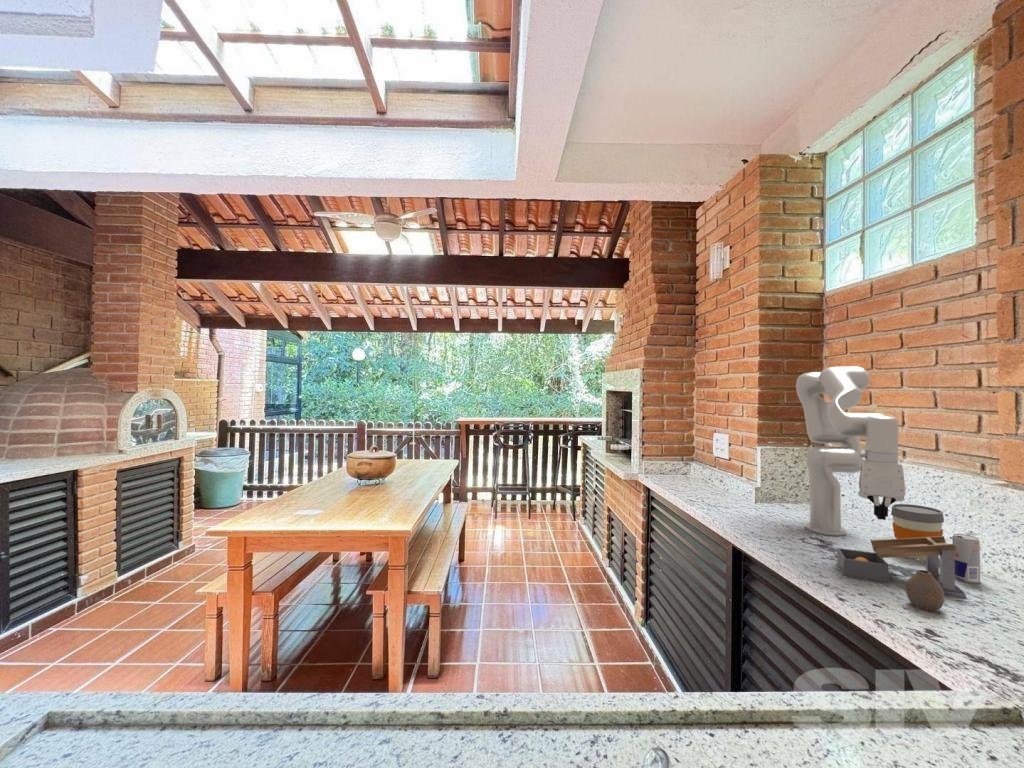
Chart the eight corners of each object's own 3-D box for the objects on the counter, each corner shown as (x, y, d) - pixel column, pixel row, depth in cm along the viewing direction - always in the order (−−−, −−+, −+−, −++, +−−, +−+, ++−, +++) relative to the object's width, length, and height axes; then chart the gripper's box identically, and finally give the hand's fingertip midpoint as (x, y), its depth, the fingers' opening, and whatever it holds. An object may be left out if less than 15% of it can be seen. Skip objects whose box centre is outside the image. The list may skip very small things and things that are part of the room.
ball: (854, 569, 132) (850, 555, 132) (870, 568, 130) (867, 554, 130) (857, 574, 128) (853, 560, 129) (874, 574, 126) (870, 559, 127)
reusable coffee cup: (926, 565, 135) (925, 515, 135) (881, 551, 147) (881, 505, 147) (955, 561, 138) (954, 512, 138) (909, 547, 150) (908, 502, 151)
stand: (916, 573, 129) (915, 535, 129) (944, 577, 126) (943, 538, 126) (934, 593, 117) (934, 551, 117) (965, 598, 114) (965, 554, 114)
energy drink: (951, 574, 129) (951, 532, 129) (978, 579, 125) (977, 536, 125) (954, 580, 124) (953, 537, 125) (981, 585, 121) (981, 541, 121)
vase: (925, 600, 113) (924, 565, 113) (952, 614, 106) (952, 577, 106) (898, 601, 112) (898, 566, 113) (924, 615, 106) (924, 577, 106)
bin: (837, 564, 136) (837, 547, 136) (878, 570, 131) (878, 553, 131) (843, 576, 127) (843, 558, 127) (888, 583, 123) (888, 565, 123)
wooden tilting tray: (867, 542, 137) (864, 533, 138) (936, 538, 130) (933, 528, 130) (880, 559, 124) (877, 549, 124) (958, 555, 117) (955, 544, 117)
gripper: (853, 457, 133) (852, 518, 134) (918, 461, 126) (917, 526, 127) (847, 453, 140) (847, 511, 140) (909, 457, 133) (909, 518, 134)
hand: (880, 518), depth 134 cm, fingers closed
